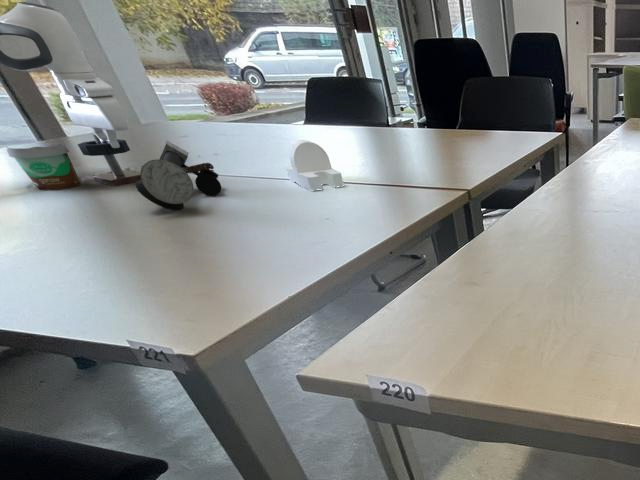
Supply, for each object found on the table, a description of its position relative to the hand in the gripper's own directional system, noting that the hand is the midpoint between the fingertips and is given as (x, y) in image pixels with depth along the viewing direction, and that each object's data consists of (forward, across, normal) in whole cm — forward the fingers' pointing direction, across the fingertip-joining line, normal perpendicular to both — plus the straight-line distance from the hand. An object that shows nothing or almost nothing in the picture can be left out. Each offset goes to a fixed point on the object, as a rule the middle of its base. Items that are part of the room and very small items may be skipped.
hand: (112, 147), depth 140 cm
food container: (+9, -9, -13) cm, 18 cm away
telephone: (+9, +32, -4) cm, 33 cm away
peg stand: (+9, -4, 0) cm, 10 cm away
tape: (+2, -4, 0) cm, 4 cm away
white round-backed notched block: (+9, +45, +26) cm, 53 cm away
